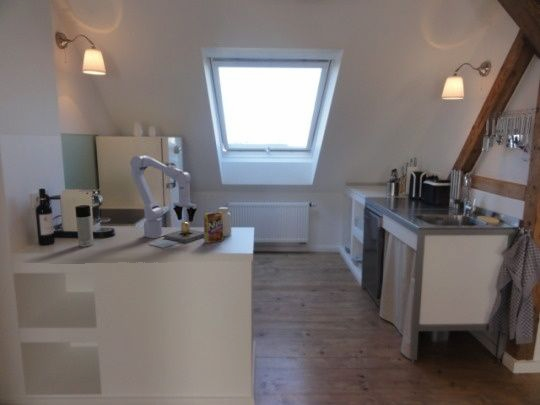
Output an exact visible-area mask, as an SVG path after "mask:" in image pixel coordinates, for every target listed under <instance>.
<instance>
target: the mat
mask: <svg viewBox="0 0 540 405" xmlns="http://www.w3.org/2000/svg"><path fill="white" fill-rule="evenodd" d="M177 244H180V242H178V241H173V240H168V239H163V240H159V241H156V242H153V243H149V246H152V247H156V248H161V249H165V247H166V248H168V247H171V246H174V245H177Z"/></svg>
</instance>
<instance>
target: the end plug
mask: <svg viewBox="0 0 540 405" xmlns="http://www.w3.org/2000/svg"><path fill="white" fill-rule="evenodd" d="M190 223H191V222H189V221H183V222H180V227H181V229H180V230H181V232H182V235H184V236H187V235H190V228H191V225H190Z"/></svg>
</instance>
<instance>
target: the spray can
mask: <svg viewBox="0 0 540 405" xmlns="http://www.w3.org/2000/svg"><path fill="white" fill-rule="evenodd" d="M74 209H75V210H74V211H75V220H76V221H75V222H76V228H77V238H78V246H79V247H80V246H81V248H83V247H84V248H85V247H87V246H88V247H91V246H93V245H94V234H93V233H94V232H93V223H92V214H91V205H89V204H88V205H87V204H81V205H77V206H75V208H74Z"/></svg>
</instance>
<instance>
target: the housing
mask: <svg viewBox="0 0 540 405" xmlns="http://www.w3.org/2000/svg"><path fill="white" fill-rule="evenodd" d="M199 239H200V240H201V239H204V231H200V230H196V229H190V235H187V236H184V235H182V232H181V229H180V230H176V231H173V232H170V233H166V235H164V236H163V240H169V241H174V242H179V243H184V244H187V243H190V242H194V241H196V240H199Z"/></svg>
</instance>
